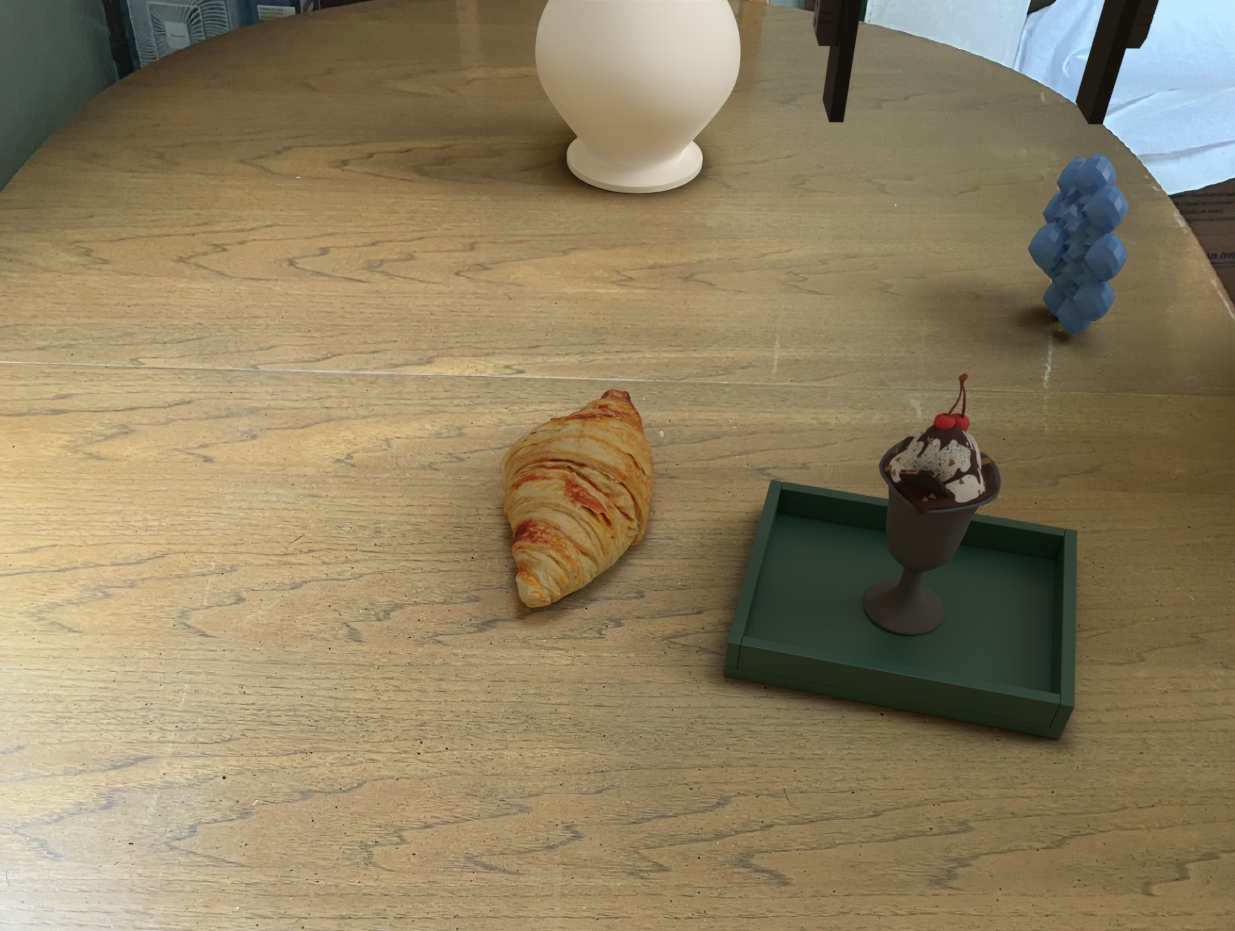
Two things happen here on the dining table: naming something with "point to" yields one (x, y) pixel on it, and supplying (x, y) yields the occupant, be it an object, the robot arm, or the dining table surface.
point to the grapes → (1081, 243)
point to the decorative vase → (637, 84)
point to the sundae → (928, 515)
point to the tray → (896, 663)
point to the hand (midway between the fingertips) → (960, 113)
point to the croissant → (577, 496)
